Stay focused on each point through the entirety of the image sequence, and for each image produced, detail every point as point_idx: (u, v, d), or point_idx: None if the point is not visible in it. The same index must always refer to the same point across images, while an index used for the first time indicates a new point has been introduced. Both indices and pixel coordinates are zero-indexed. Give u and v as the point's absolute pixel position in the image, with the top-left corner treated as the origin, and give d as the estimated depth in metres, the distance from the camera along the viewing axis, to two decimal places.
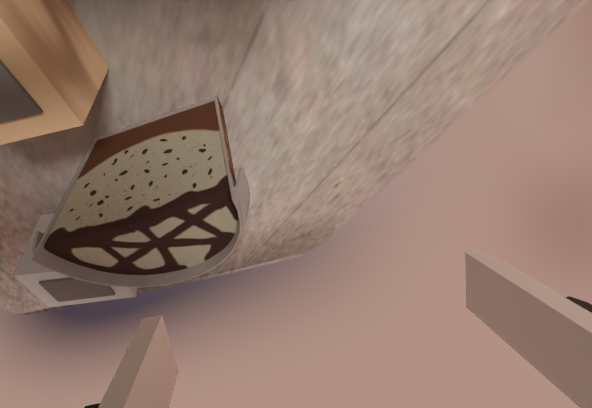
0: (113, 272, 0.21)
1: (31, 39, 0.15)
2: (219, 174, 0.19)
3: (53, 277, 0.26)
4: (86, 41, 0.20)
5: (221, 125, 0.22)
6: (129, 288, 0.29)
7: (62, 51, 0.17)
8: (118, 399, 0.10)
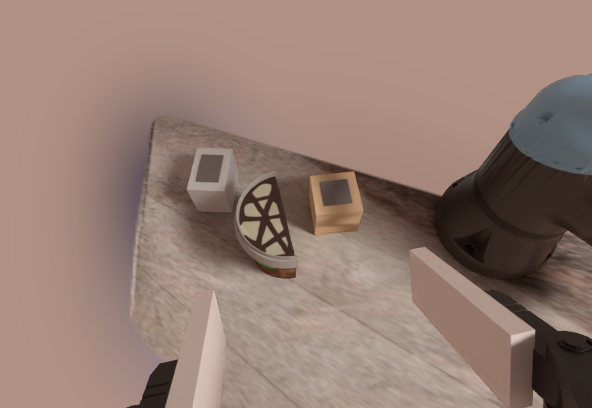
0: (248, 192, 0.42)
1: (346, 215, 0.45)
2: None
3: (223, 162, 0.48)
4: (329, 231, 0.49)
5: (295, 270, 0.43)
6: (197, 189, 0.46)
7: (335, 222, 0.47)
8: (194, 354, 0.11)
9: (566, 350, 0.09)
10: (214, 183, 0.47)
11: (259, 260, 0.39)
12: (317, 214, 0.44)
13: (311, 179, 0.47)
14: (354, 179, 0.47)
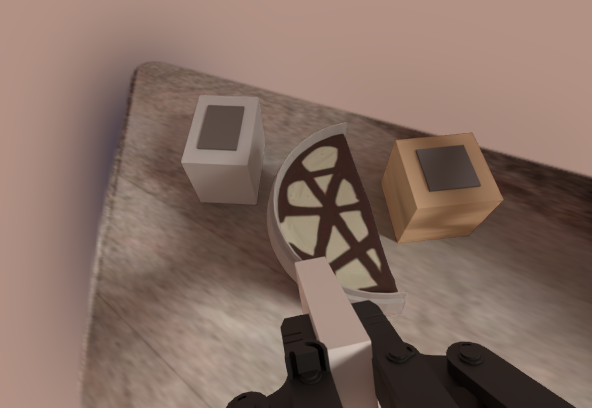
0: (295, 161, 0.22)
1: (469, 208, 0.25)
2: None
3: (244, 118, 0.28)
4: (423, 237, 0.29)
5: None
6: (199, 163, 0.26)
7: (443, 221, 0.26)
8: (323, 307, 0.13)
9: (393, 363, 0.10)
10: (229, 153, 0.27)
11: None
12: (418, 206, 0.24)
13: (399, 145, 0.27)
14: (475, 146, 0.27)
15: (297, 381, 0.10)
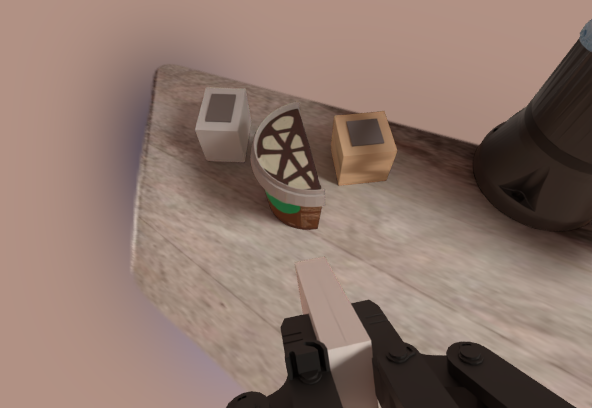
0: (267, 124, 0.37)
1: (377, 157, 0.40)
2: None
3: (236, 102, 0.43)
4: (354, 181, 0.43)
5: (319, 216, 0.38)
6: (206, 130, 0.41)
7: (364, 167, 0.41)
8: (323, 307, 0.13)
9: (393, 363, 0.10)
10: (226, 123, 0.41)
11: (280, 197, 0.33)
12: (344, 155, 0.39)
13: (336, 119, 0.41)
14: (385, 119, 0.41)
15: (297, 381, 0.10)
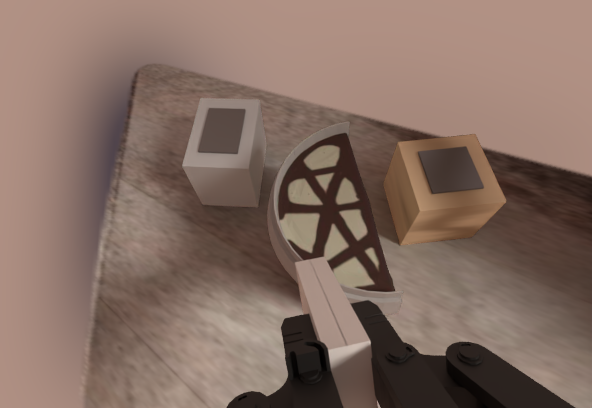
0: (297, 159, 0.22)
1: (472, 211, 0.25)
2: None
3: (245, 121, 0.28)
4: (425, 239, 0.29)
5: None
6: (200, 166, 0.26)
7: (446, 223, 0.26)
8: (323, 307, 0.13)
9: (393, 363, 0.10)
10: (230, 156, 0.27)
11: None
12: (421, 209, 0.24)
13: (401, 147, 0.27)
14: (478, 147, 0.26)
15: (298, 381, 0.10)
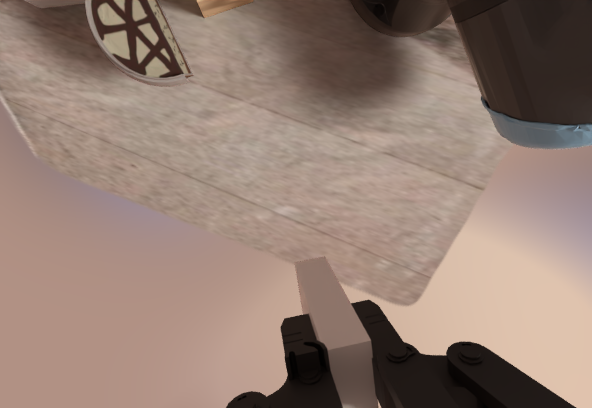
0: None
1: None
2: (182, 69, 0.35)
3: None
4: (220, 11, 0.40)
5: (190, 74, 0.39)
6: None
7: (224, 1, 0.38)
8: (323, 307, 0.13)
9: (393, 363, 0.10)
10: None
11: (143, 81, 0.34)
12: (198, 0, 0.35)
13: None
14: None
15: (297, 381, 0.10)
